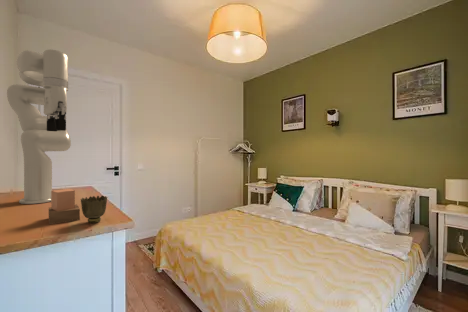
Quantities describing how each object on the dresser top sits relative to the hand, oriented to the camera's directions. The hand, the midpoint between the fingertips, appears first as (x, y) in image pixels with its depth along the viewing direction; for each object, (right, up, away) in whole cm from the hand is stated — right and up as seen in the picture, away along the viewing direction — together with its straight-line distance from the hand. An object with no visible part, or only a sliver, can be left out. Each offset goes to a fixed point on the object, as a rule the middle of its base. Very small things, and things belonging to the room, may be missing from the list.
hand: (56, 130), depth 89 cm
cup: (+22, -31, -13) cm, 40 cm away
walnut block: (+10, -31, -10) cm, 34 cm away
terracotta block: (+10, -27, -10) cm, 31 cm away
